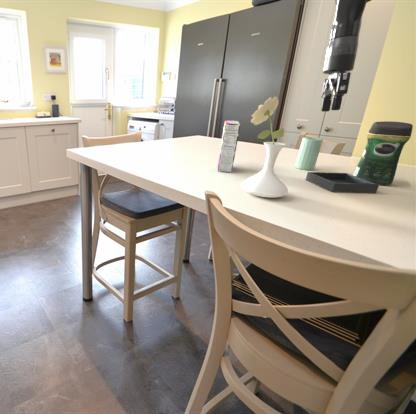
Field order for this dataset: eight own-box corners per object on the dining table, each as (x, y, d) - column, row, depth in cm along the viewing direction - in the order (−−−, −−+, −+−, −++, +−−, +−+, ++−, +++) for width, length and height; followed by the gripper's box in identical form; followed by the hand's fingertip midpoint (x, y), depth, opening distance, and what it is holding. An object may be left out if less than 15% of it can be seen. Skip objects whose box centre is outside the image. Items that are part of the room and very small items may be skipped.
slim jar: (307, 166, 109) (315, 137, 104) (317, 170, 103) (327, 139, 99) (291, 166, 109) (299, 137, 105) (300, 170, 103) (309, 139, 99)
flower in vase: (266, 186, 84) (288, 96, 74) (296, 200, 73) (327, 97, 64) (226, 188, 82) (243, 95, 72) (251, 202, 71) (276, 96, 62)
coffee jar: (389, 181, 91) (414, 121, 84) (392, 187, 85) (419, 123, 78) (350, 176, 97) (371, 119, 90) (351, 181, 91) (373, 121, 84)
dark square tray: (343, 180, 91) (346, 173, 90) (375, 193, 80) (379, 184, 79) (305, 179, 92) (307, 171, 91) (331, 192, 80) (334, 183, 79)
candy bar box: (217, 164, 109) (224, 120, 103) (231, 165, 107) (239, 120, 101) (216, 171, 99) (225, 123, 93) (232, 173, 98) (241, 123, 91)
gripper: (367, 48, 79) (354, 109, 84) (345, 59, 92) (335, 111, 97) (334, 51, 82) (323, 110, 86) (318, 61, 95) (309, 112, 99)
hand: (329, 110), depth 92 cm, fingers open, 8 cm apart
